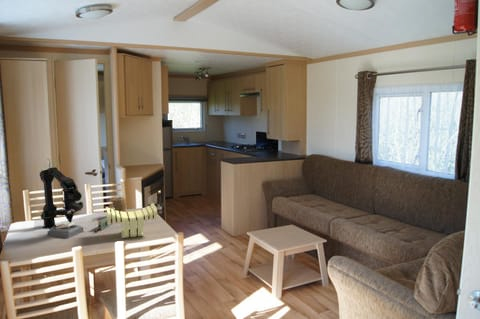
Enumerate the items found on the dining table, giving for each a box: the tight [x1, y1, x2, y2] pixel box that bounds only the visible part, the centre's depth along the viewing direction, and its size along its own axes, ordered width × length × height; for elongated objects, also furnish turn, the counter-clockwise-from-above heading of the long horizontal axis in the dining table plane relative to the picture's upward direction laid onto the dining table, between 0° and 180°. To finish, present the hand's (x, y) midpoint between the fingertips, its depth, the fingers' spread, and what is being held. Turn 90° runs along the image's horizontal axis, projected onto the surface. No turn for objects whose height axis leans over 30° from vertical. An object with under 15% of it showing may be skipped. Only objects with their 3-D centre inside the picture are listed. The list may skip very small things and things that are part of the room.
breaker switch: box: [56, 221, 76, 229], centre depth 261 cm, size 10×6×1 cm, turn 73°
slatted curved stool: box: [105, 202, 158, 239], centre depth 258 cm, size 30×16×18 cm, turn 110°
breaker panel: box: [47, 223, 84, 239], centre depth 261 cm, size 16×14×4 cm
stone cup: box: [111, 196, 129, 218], centre depth 297 cm, size 15×12×15 cm
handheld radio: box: [94, 213, 117, 233], centre depth 274 cm, size 7×3×25 cm
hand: (70, 222), depth 259 cm, fingers closed
